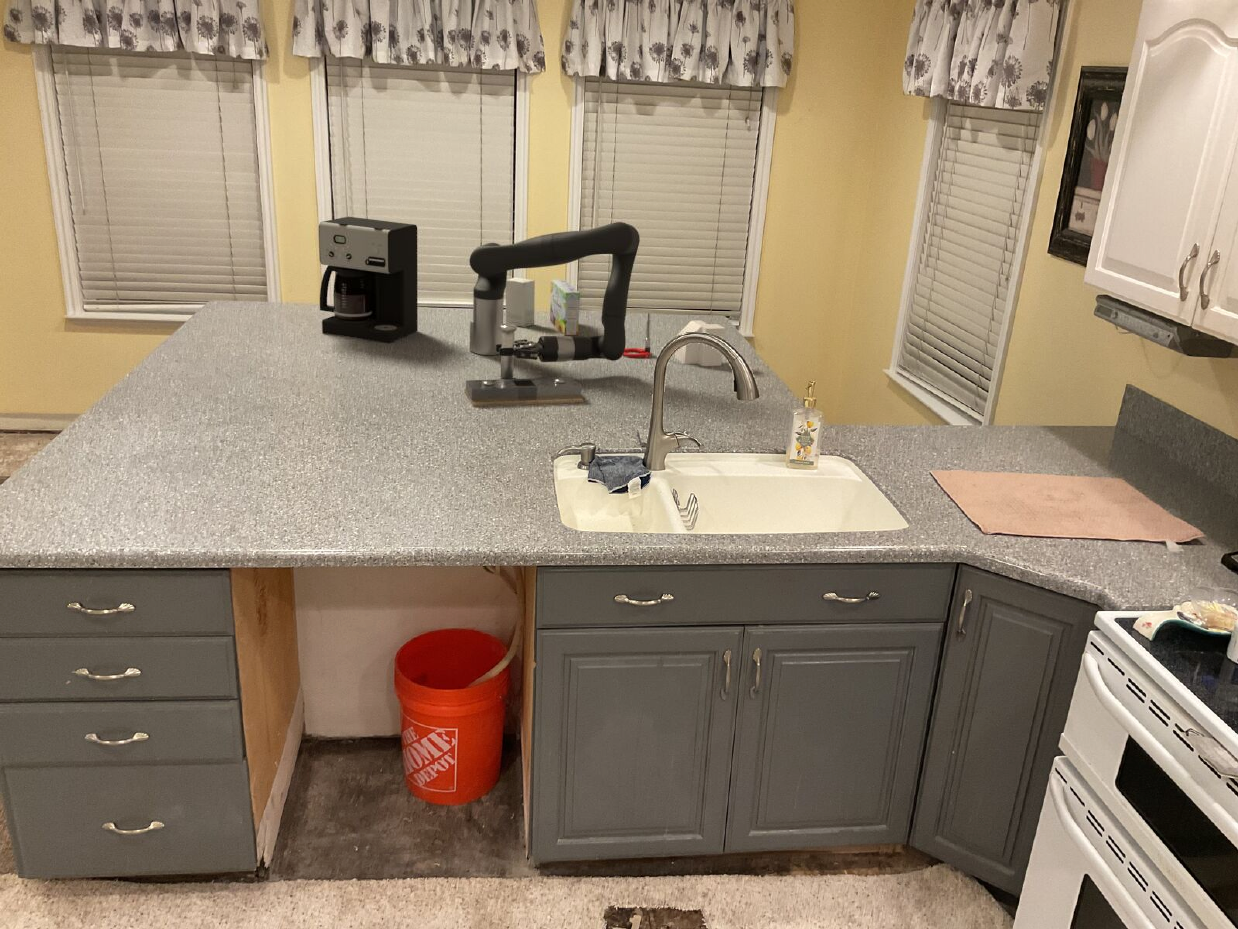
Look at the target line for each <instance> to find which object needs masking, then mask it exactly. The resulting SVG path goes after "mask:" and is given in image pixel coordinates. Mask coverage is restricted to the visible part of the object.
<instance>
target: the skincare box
mask: <svg viewBox="0 0 1238 929" xmlns="http://www.w3.org/2000/svg"><path fill="white" fill-rule="evenodd" d="M535 282H536V281H535V280H533V279H530V278H529V279H528V278H521V277H517V276H515V277H512V278H509V279H508V278H507V281H506V288H505V324H514V325H517V327H523V328H526V327H530V326H533V325H535V298H536V297H535V293H536V292H535V289H536V288H535V287H536V285H535Z"/></svg>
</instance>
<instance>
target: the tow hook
mask: <svg viewBox="0 0 1238 929" xmlns="http://www.w3.org/2000/svg"><path fill="white" fill-rule="evenodd" d="M646 317H647V319H646V326H645V328H646V331H645V346H644V348H636V347H627V348H626V347H625V351H624V354H623V356H622V357H625V356H629V357H628V358H646V357H647V358H646V359H649V358H650V356H651V349H652V348H651V322H652V321H651V313H650V312H647V316H646ZM628 351H633V353H629V352H628Z"/></svg>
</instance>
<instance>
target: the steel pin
mask: <svg viewBox="0 0 1238 929" xmlns="http://www.w3.org/2000/svg"><path fill="white" fill-rule="evenodd" d="M500 330H502V345H501V348H514V347H515V346H514V341H515V332H516V331H517V330H518V326H517V325H514V324H506V323H503V324H501V325H500ZM514 361H515V357H513V355H512V356H500V378H501V379H514Z"/></svg>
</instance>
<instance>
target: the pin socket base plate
mask: <svg viewBox="0 0 1238 929" xmlns="http://www.w3.org/2000/svg"><path fill="white" fill-rule="evenodd" d="M463 391H464V392H463V393H464V395H465V396H466V398H467V399H468V400H469V402H470V404H471V405H472V406H473V407H487V406H488V407H489V406H492V407H493V406H515V405H542V404H543V405H544V404H563V403H564V404H568V403H569V404H570V403H584V398H583V397H582V385H581V384H580V383H579V382H578V381H577V380H576V379H575V378H574V377H572V376H571V377H570V376H569V377H544V378H542V377H541V378H539V377H538V378H536V377H535V378H511V379H504V378H501V379H475V380H474V379H472V380H471V379H469V380H465V388H464V390H463Z"/></svg>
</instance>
